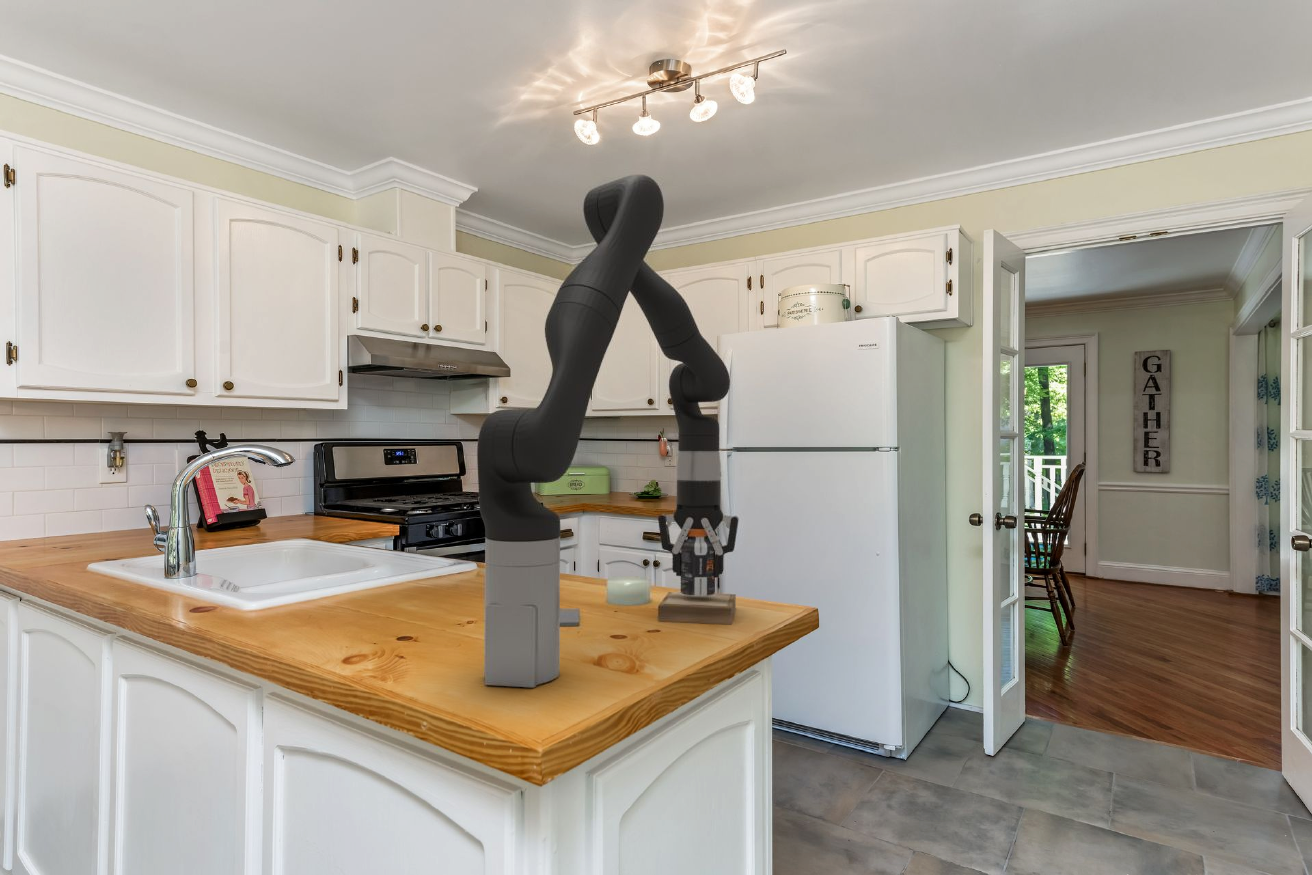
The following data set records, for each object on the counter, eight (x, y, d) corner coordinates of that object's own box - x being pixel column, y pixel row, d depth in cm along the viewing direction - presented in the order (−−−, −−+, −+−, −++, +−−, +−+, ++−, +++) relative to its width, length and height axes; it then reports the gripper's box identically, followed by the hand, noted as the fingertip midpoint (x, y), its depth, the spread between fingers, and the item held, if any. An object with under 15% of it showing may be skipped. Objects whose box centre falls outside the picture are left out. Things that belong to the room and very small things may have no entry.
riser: (731, 624, 120) (731, 607, 120) (658, 621, 122) (658, 604, 122) (735, 608, 132) (735, 593, 132) (668, 605, 134) (668, 590, 134)
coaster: (579, 625, 119) (579, 622, 119) (515, 627, 118) (515, 623, 118) (579, 612, 129) (579, 608, 129) (520, 613, 128) (520, 609, 128)
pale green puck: (645, 607, 134) (645, 584, 134) (602, 605, 135) (602, 583, 135) (653, 598, 142) (653, 577, 142) (612, 596, 143) (612, 575, 143)
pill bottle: (712, 598, 124) (713, 529, 124) (677, 596, 125) (678, 528, 125) (717, 591, 130) (717, 526, 130) (683, 589, 131) (683, 525, 131)
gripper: (653, 478, 125) (652, 578, 125) (739, 479, 123) (739, 581, 122) (660, 476, 132) (659, 571, 132) (741, 477, 130) (741, 574, 130)
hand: (698, 575), depth 127 cm, fingers closed on pill bottle, 6 cm apart
